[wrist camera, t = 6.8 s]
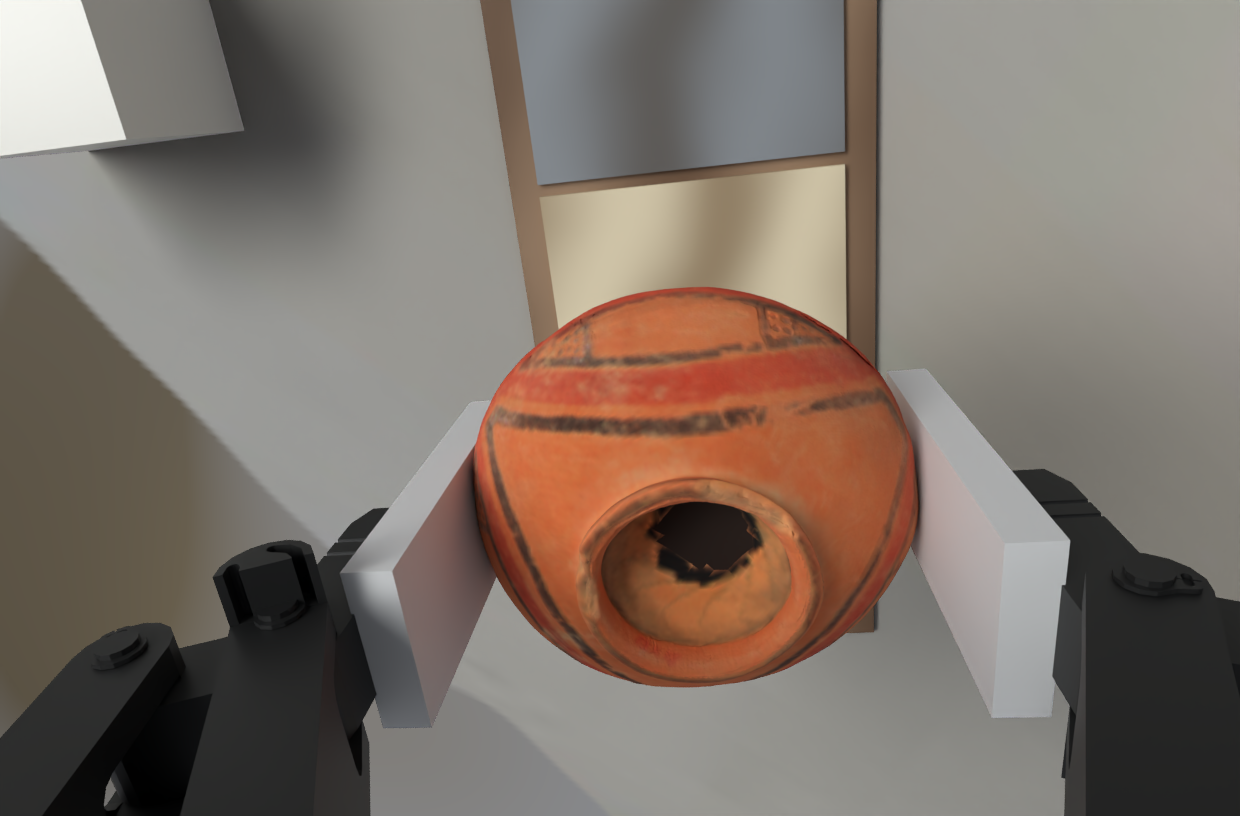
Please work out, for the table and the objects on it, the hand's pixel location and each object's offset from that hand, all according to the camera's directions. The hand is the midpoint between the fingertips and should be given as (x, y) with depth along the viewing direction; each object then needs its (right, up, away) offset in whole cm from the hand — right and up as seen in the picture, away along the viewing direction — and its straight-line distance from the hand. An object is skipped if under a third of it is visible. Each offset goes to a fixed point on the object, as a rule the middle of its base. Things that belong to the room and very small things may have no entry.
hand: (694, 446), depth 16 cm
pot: (0, 0, +1) cm, 1 cm away
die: (-18, +13, +10) cm, 24 cm away
